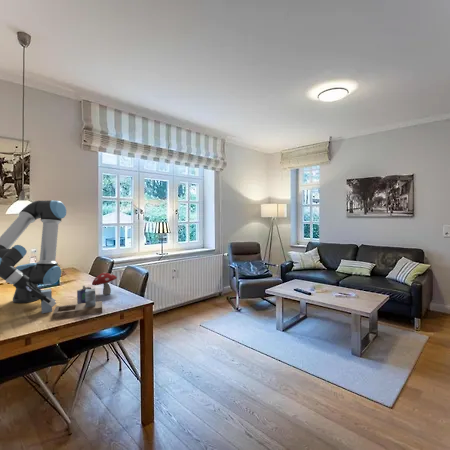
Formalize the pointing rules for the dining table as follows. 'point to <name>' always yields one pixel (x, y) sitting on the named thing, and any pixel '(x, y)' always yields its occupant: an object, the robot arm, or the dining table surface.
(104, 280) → the decorative mushroom
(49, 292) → the gray rectangular block
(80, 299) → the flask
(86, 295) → the block insertion board
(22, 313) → the dining table surface
